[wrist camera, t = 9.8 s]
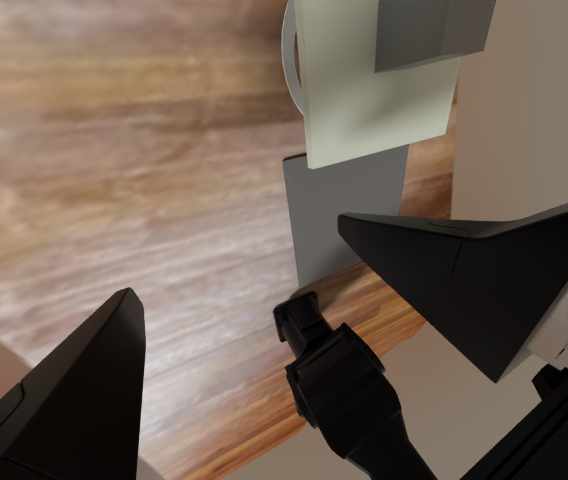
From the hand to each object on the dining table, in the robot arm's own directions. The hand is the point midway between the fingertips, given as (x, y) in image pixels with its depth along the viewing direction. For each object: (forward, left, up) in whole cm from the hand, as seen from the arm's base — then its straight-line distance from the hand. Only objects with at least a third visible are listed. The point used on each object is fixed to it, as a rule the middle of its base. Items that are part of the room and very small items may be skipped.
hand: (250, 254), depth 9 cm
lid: (+8, -14, -7) cm, 18 cm away
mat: (-7, -15, -12) cm, 20 cm away
